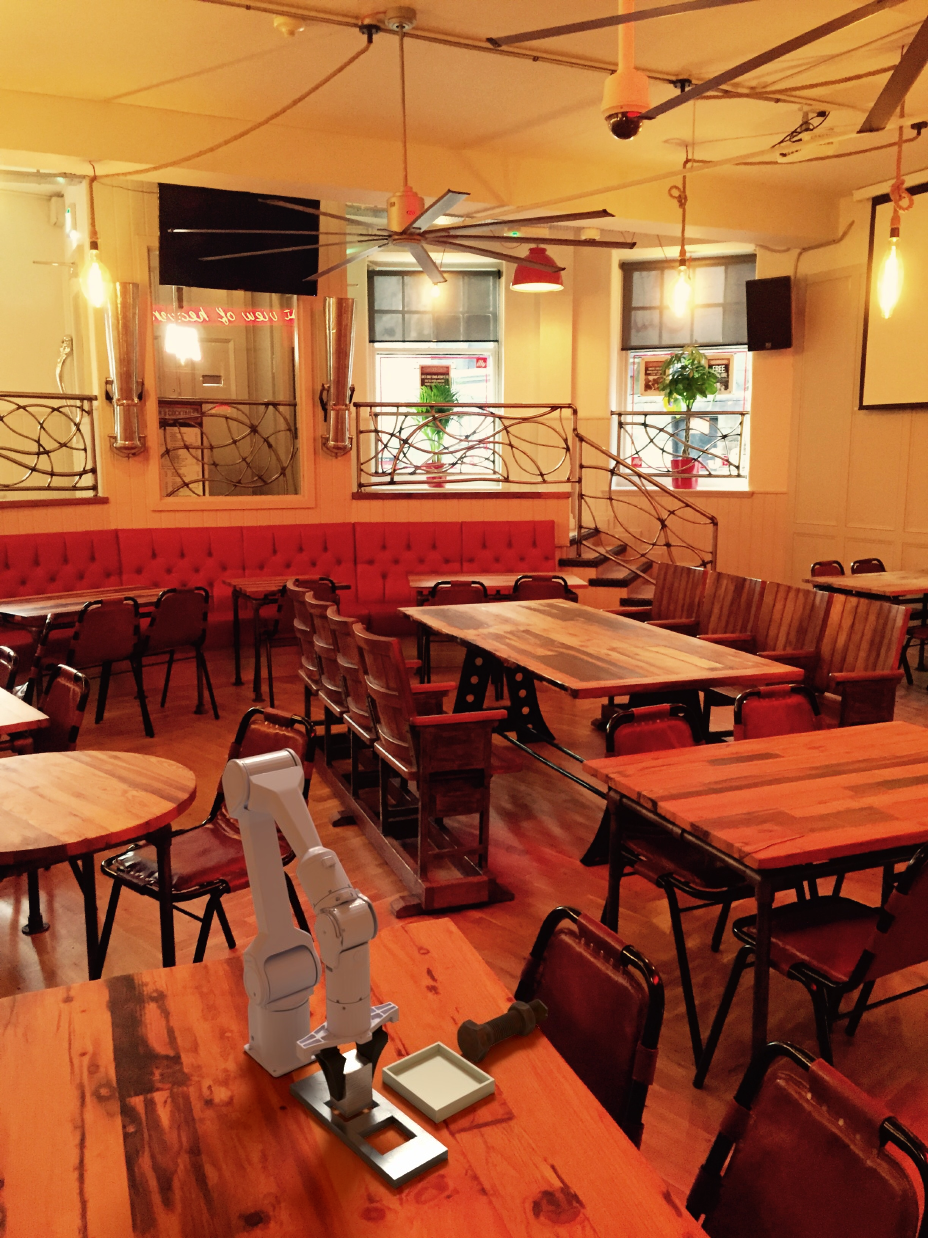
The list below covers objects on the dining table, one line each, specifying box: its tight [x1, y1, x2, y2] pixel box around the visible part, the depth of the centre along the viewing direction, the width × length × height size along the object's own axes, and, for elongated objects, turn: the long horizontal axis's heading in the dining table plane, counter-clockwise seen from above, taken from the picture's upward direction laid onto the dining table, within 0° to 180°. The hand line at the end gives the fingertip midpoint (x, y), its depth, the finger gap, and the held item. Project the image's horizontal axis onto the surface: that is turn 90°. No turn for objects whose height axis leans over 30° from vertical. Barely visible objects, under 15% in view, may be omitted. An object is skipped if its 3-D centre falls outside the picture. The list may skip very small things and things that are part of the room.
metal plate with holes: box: [289, 1069, 449, 1190], centre depth 125 cm, size 24×8×1 cm, turn 40°
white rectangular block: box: [330, 1048, 373, 1119], centre depth 127 cm, size 4×4×6 cm
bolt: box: [456, 998, 549, 1064], centre depth 144 cm, size 6×5×15 cm
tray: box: [381, 1041, 496, 1124], centre depth 133 cm, size 12×10×2 cm
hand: (350, 1090), depth 127 cm, fingers closed on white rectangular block, 4 cm apart
